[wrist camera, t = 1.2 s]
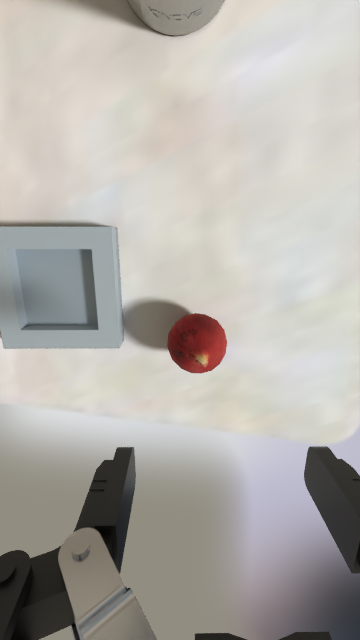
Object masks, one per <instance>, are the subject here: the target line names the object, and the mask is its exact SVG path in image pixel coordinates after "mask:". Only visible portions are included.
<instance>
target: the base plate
mask: <svg viewBox="0 0 360 640" xmlns="http://www.w3.org/2000/svg"><path fill="white" fill-rule="evenodd" d="M0 332H1V337H2V342H3V347H4V349H23V348H120V346H121V344H122V343H123V341H124V332H123V315H122V299H121V282H120V266H119V249H118V233H117V228H115V227H0Z"/></svg>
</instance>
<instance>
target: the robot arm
mask: <svg viewBox="0 0 360 640" xmlns="http://www.w3.org/2000/svg"><path fill="white" fill-rule="evenodd" d="M224 1H225V0H128V2H129V3H130V5H131V7H132V9H133V10H134V12H135V13H136V14H137V15H138V16H139V18H140V19H141V20H142V21H143V22H144V23H146V24H147V25H148V26H150V27H151V28H152V29H154V30H156V31H159V32H161V33H163V34H168V35H175V36H178V35H186V34H189V33H192V32H194V31H197V30H199V29H200V28H202V27H203V26H205V25H206V24H207V23H209V22H210V21H211V19H212V18H213V17H214V16H215V15H216V14H217V13H218V11H219V9H220V8H221V6H222V4H223V3H224ZM135 477H136V474H135V456H134V448H133V447H118V448H117V449H116V452H115V456H114V459H113V460H104V461H103V462H102V464H101V465H100V466H99V467H98V468H97V469H96V472H95V475H94V478H93V481H92V483H91V486H90V489H89V492H88V495H87V497H86V500H85V503H84V506H83V509H82V511H81V514H80V517H79V520H78V523H77V525H76V528H75V530H74V532H73V533H72V534H71V535H70V536H69V537H67V539H66V540H65V541H64V543H63V544H62V545H61V546H60V547H59V548H57V549H55V550H53V551H50V552H47V553H45V554H42V555H39V556H36V557H33V558H30V557H29V555H28V554H27V553H26V552H24V551H21V550H15V551H11V552H8V553H5V554H3V555H2V556H0V640H39V639H41V638H43V637H45V636H48V635H50V634H52V633H55V632H57V631H59V630H61V629H64V628H66V627H68V626H70V627H71V630H72V634H73V638H74V640H157V639H156V637H155V635H154V633H153V630H152V629H151V626H150V625H149V622H148V620H147V618H146V616H145V614H144V612H143V610H142V608H141V606H140V604H139V602H138V600H137V598H136V596H135V594H134V593H133V591H132V590H131V589H130V588H128V589H127V588H126V587H125V585H124V583H123V581H122V579H121V577H120V571H121V565H122V559H123V553H124V547H125V542H126V536H127V530H128V524H129V519H130V513H131V507H132V501H133V495H134V490H135ZM304 478H305V483H306V487H307V489H308V491H309V493H310V495H311V497H312V499H313V501H314V502H315V504H316V506H317V508H318V510H319V512H320V514H321V516H322V518H323V520H324V521H325V523H326V525H327V527H328V529H329V531H330V533H331V535H332V537H333V539H334V540H335V542H336V544H337V546H338V548H339V550H340V552H341V554H342V555H343V557H344V559H345V561H346V563H347V565H348V567H349V569H350V571H351V573H360V476H359V475H358V473H357V472H356V471H355V470H354V468H353V467H351V466H350V465H349V464H347V463H346V462H345V461H344V460H342V459H337V458H336V457H335V455H334V454H333V453H332V451H331V450H330V449H329V448H328V447H309V449H308V453H307V459H306V466H305V472H304ZM195 640H246V639H244V638H241V637H238V636H235V635H232V634H229V633H204V634H195ZM280 640H332V639H331V636H330V634H329V632H296V633H293V634H291V635H289V636H287V637H284V638H282V639H280Z"/></svg>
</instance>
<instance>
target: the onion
mask: <svg viewBox="0 0 360 640" xmlns="http://www.w3.org/2000/svg"><path fill="white" fill-rule="evenodd" d="M167 346H168V350H169V352H170V355H171V358H172V360H173V361H174V362H175V363H176V364H177V365H178V366H179V367H180V368H181V369H184V370H186V371H188V372H191V373H204V372H208V371H211V370H213V369H214V368H215V367H216V366H218V365H219V364H220V362H221V361H222V359H223V357H224V355H225V353H226V346H227V340H226V336H225V332H224V329H223V328H222V327H221V325H220V324H219V323H218V321H217V320H215V319H213V318H211V317H209V316H207V315H204V314H196V313H195V314H191V315H186V316H184V317H183V318H181V319H180V320H178V321H177V322H176V323H175V325H174V326H173V328H172V329H171V330H170V332H169V336H168V345H167Z"/></svg>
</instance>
